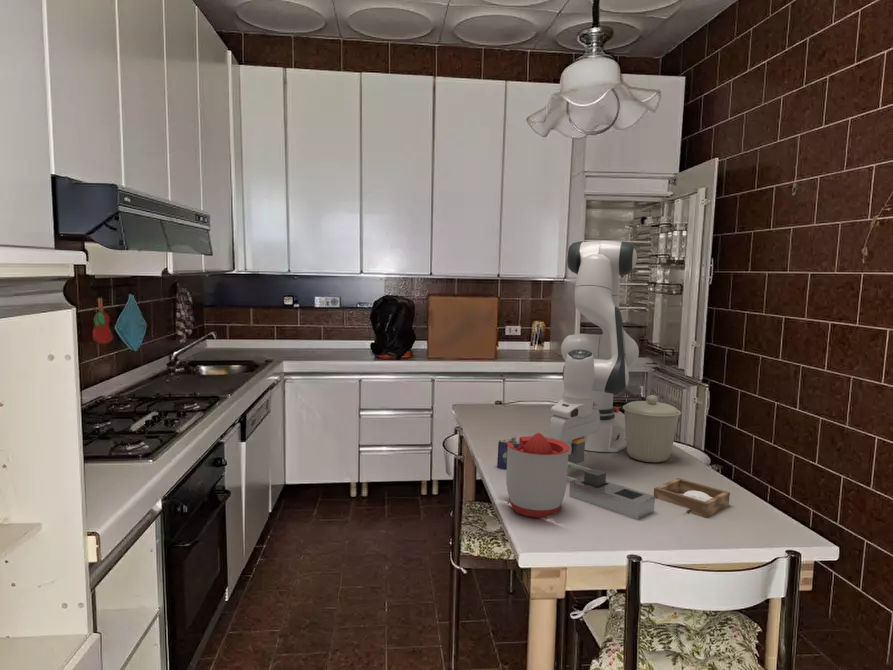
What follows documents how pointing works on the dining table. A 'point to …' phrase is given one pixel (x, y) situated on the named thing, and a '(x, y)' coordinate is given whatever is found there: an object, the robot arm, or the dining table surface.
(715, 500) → the garlic corral
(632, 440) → the canister
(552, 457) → the citrus juicer
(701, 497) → the garlic
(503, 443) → the blue box
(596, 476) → the twin plug
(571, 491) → the grey socket block
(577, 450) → the plug
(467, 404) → the dining table surface
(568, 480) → the tray
